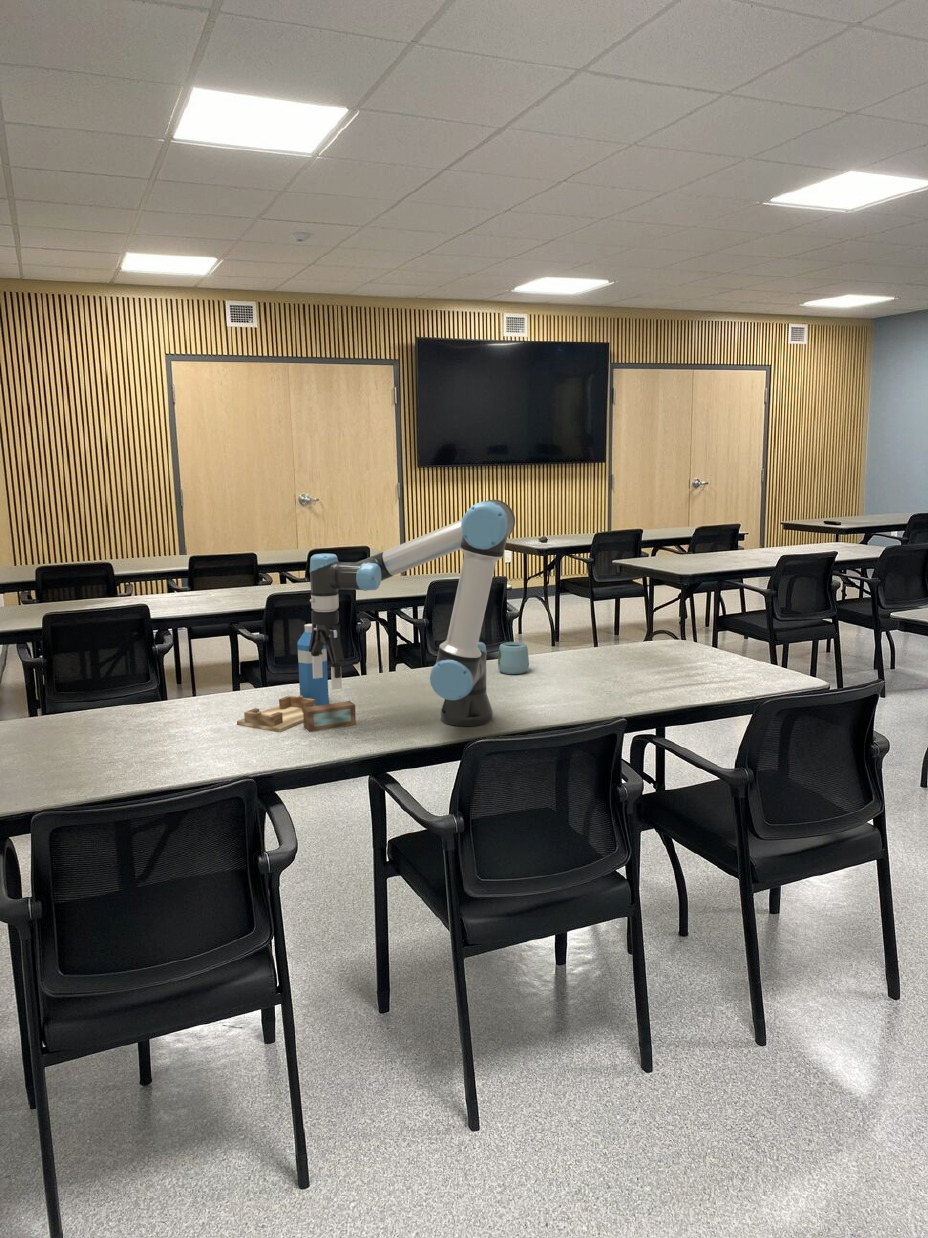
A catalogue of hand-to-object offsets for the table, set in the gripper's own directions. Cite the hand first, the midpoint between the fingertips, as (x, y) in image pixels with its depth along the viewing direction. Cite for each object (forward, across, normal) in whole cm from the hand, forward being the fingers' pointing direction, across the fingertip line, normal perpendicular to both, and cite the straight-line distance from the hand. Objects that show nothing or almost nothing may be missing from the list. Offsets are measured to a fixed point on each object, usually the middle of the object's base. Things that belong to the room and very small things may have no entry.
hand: (327, 683), depth 254 cm
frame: (+13, 0, 0) cm, 13 cm away
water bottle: (+13, -23, +5) cm, 27 cm away
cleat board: (+13, -14, -9) cm, 21 cm away
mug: (+12, -24, +80) cm, 84 cm away
